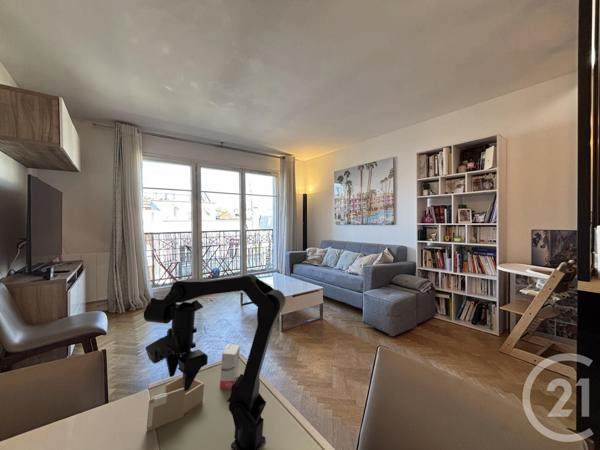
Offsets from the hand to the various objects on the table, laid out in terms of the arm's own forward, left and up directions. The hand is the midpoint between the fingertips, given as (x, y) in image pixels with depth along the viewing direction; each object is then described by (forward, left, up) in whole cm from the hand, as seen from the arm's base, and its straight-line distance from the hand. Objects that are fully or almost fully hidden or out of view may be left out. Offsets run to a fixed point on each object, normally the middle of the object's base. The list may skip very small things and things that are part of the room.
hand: (178, 382), depth 68 cm
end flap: (+4, 0, -12) cm, 12 cm away
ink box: (+3, -24, -12) cm, 27 cm away
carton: (+6, -8, -12) cm, 16 cm away
